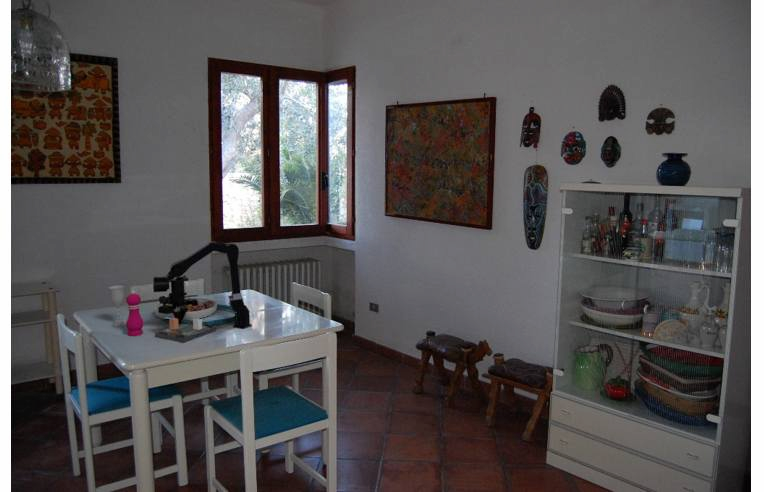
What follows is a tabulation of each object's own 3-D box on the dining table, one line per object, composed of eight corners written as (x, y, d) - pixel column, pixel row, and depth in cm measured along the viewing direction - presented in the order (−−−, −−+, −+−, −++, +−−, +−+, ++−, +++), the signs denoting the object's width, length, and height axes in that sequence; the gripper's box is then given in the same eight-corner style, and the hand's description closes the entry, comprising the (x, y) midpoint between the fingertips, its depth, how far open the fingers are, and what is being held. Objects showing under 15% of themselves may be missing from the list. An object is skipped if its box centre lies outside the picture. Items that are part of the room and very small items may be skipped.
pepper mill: (137, 337, 257) (135, 292, 254) (123, 336, 258) (120, 291, 255) (147, 332, 264) (145, 289, 261) (133, 331, 265) (130, 288, 262)
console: (216, 330, 267) (216, 325, 267) (184, 342, 250) (184, 336, 249) (188, 325, 275) (188, 320, 275) (155, 337, 257) (154, 331, 257)
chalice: (130, 323, 277) (128, 286, 274) (118, 327, 271) (116, 289, 268) (119, 321, 280) (117, 285, 278) (107, 325, 274) (104, 287, 271)
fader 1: (178, 328, 262) (178, 318, 261) (174, 329, 260) (174, 319, 259) (173, 327, 263) (173, 317, 263) (169, 328, 261) (169, 318, 260)
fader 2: (202, 328, 262) (201, 318, 261) (198, 329, 260) (198, 320, 259) (197, 327, 263) (196, 317, 263) (193, 328, 261) (192, 319, 261)
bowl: (143, 321, 282) (142, 305, 281) (172, 306, 312) (171, 291, 311) (202, 324, 279) (201, 308, 278) (226, 308, 308) (225, 293, 307)
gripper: (180, 284, 274) (181, 317, 276) (148, 292, 257) (149, 327, 260) (198, 287, 269) (199, 320, 271) (166, 295, 252) (168, 330, 255)
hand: (179, 324), depth 264 cm, fingers closed
